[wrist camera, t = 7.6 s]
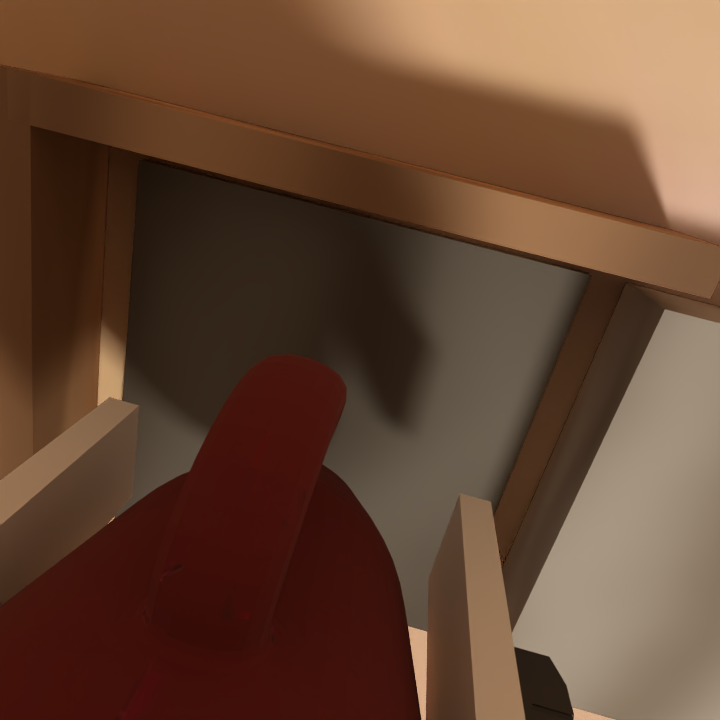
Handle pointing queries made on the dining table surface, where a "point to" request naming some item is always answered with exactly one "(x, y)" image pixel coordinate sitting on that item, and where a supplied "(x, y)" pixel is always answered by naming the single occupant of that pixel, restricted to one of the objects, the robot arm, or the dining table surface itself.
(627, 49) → the dining table surface
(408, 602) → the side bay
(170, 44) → the dining table surface
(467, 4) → the dining table surface
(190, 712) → the mug
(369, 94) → the dining table surface
